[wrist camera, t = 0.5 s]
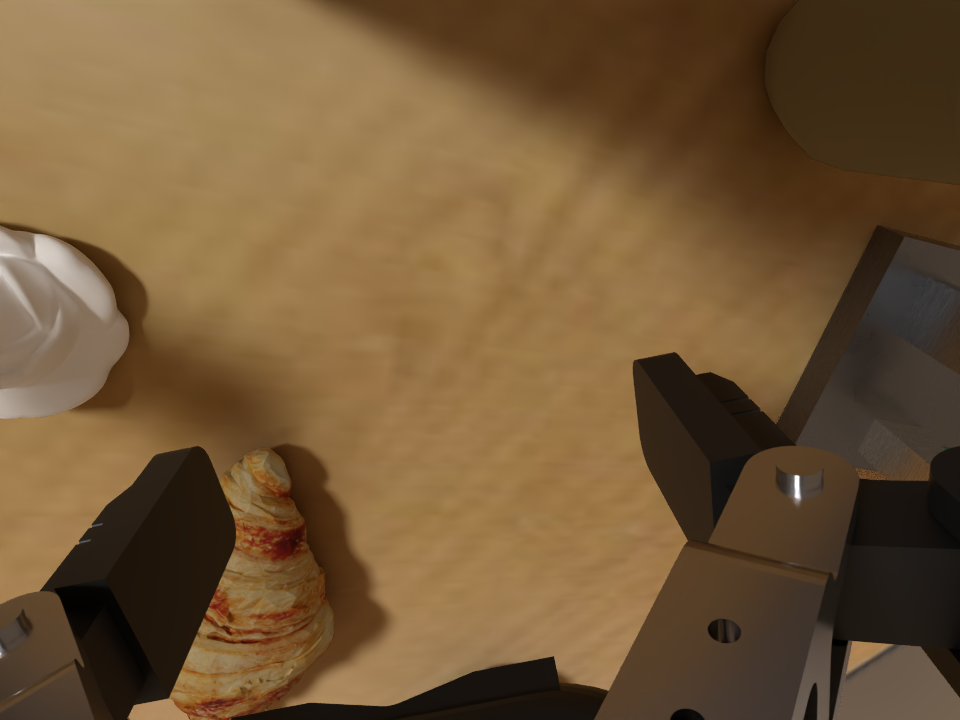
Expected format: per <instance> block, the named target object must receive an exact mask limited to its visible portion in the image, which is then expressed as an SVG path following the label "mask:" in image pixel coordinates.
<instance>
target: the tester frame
mask: <svg viewBox="0 0 960 720" xmlns="http://www.w3.org/2000/svg"><path fill="white" fill-rule="evenodd" d="M777 426H778V427H779V428H780V429H781V430H782V431H783V432H784V433H785V435H786V436H787V437H788V438H789V439H790V440H791V441H792V442H793V443H794V444H795V445H796V446H805V447H812V448H818V449H822V450H825V451H828V452H831V453H834V454H836V455H838V456H840V457H842V458H844V459H845V460H846V461H848V462H849V463H850V464H851V465H852V466H853V467H857V468H862V469H867V470H873V471H878V472H880V473H881V474H882V475H883V476H884V477H885V478H886V479H887V480H901V481H929V472H930V464H931V461H932V459H933V458H934V457H935V456H936V455H937V454H938V453H940V452H942V451H944V450H947V449H949V448H953V447H957V446H960V246H956V245H952V244H948V243H944V242H940V241H936V240H933V239H929V238H925V237H921V236H917V235H913V234H909V233H905V232H901V231H898V230H894V229H890V228H886V227H882V226H877V228H876V230H875V232H874V234H873V236H872V238H871V240H870V242H869V244H868V246H867V248H866V250H865V252H864V254H863V256H862V258H861V260H860V262H859V264H858V266H857V268H856V270H855V272H854V274H853V276H852V278H851V280H850V281H849V283H848V285H847V287H846V289H845V291H844V293H843V295H842V297H841V299H840V301H839V303H838V305H837V307H836V309H835V311H834V313H833V315H832V317H831V319H830V321H829V323H828V325H827V327H826V329H825V331H824V333H823V335H822V337H821V339H820V341H819V343H818V345H817V347H816V349H815V351H814V352H813V354H812V356H811V358H810V360H809V362H808V364H807V366H806V368H805V370H804V372H803V374H802V376H801V378H800V380H799V382H798V384H797V386H796V388H795V390H794V392H793V394H792V396H791V398H790V400H789V402H788V404H787V406H786V408H785V410H784V412H783V414H782V416H781V418H780V420H779V422H778V423H777Z"/></svg>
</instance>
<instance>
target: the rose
mask: <svg viewBox="0 0 960 720" xmlns="http://www.w3.org/2000/svg"><path fill="white" fill-rule="evenodd" d="M129 337H130V334H129V326H128V322H127V320H126V318H125V317H124V316H123V314H122V313H121V312H120V311H119V310H118V308H117V304H116V299H115V294H114V291H113V288H112V286H111V285H110V283H109V282H108V280H107V279H106V278H105V276H104V275H103V274H102V272H101V271H100V270H99V269H98V268H97V266H96V265H95V264H94V263H93V262H92V261H91V260H90V259H89V258H87V257H86V256H85V255H84V254H83V253H82V252H80V251H79V250H78V249H76V248H75V247H73V246H72V245H70V244H68V243H66V242H64V241H62V240H60V239H58V238H55V237H52V236H49V235H44V234H34V233H31V232H26V231H13V230H10V229H7V228H5V227H3V226H0V419H14V418H22V417H35V418H39V417H48V416H53V415H57V414H60V413H63V412H66V411H68V410H71V409H73V408H75V407H77V406H79V405H81V404H83V403H84V402H86V401H88V400H89V399H90V398H92V397H93V396H94V395H95V394H97V393H98V392H99V391H100V389H101V388H102V387H103V386H104V384H105V382H106V380H107V378H108V375H109V372H110V370H111V368H112V367H113V365H114V364H115V363H116V362H117V361H118V360H119V359H120V358H121V356H122V355H123V354H124V352H125V350H126V348H127V346H128V343H129Z"/></svg>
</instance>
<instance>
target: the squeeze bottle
mask: <svg viewBox="0 0 960 720" xmlns="http://www.w3.org/2000/svg"><path fill="white" fill-rule="evenodd" d="M764 82H765V86H766V89H767V92H768V96H769V99H770V103H771V106H772V108H773V109H774V111H775V113H776V114H777V116H778V118H779V119H780V121H781V123H782V124H783V126H784V128H785V129H786V131H787V133H788V134H789V135H790V136H791V137H792V138H793V139H794V140H795V141H796V142H797V143H798V145H799V146H800V147H801V148H802V149H803V150H804V151H805V152H806V153H807V154H808V155H809V156H810V158H811V159H814V160H817V161H819V162H822V163H825V164H828V165H831V166H834V167H837V168H840V169H842V170H846V171H854V172H862V173H869V174H877V175H885V176H893V177H901V178H909V179H917V180H925V181H933V182H941V183H949V184H957V185H960V0H799V1H798V2H797V3H796V4H795V5H794V6H793V7H792V8H791V10H790V11H789V12H788V13H787V14H786V15H785V16H784V17H783V18H782V20H781V21H780V22H779V24H778V27H777V29H776V31H775V33H774V36H773V38H772V40H771V42H770V44H769V47H768V49H767V53H766V63H765V74H764Z"/></svg>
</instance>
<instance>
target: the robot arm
mask: <svg viewBox="0 0 960 720" xmlns="http://www.w3.org/2000/svg"><path fill="white" fill-rule="evenodd" d="M633 379H634V388H635V397H636V406H637V416H638V425H639V434H640V441H641V446H642V450H643V454H644V457H645V460H646V463H647V466H648V468H649V470H650V472H651V474H652V475H653V477H654V479H655V481H656V483H657V485H658V487H659V488H660V490H661V492H662V494H663V496H664V498H665V499H666V501H667V503H668V505H669V507H670V509H671V510H672V512H673V514H674V516H675V518H676V520H677V521H678V523H679V525H680V527H681V529H682V531H683V532H684V534H685V536H686V538H687V540H688V542H687V543H686V544H685V545H684V547H683V548H682V550H681V552H680V554H679V556H678V558H677V560H676V561H675V563H674V565H673V567H672V569H671V571H670V573H669V575H668V577H667V579H666V581H665V583H664V585H663V587H662V589H661V591H660V593H659V595H658V596H657V598H656V600H655V602H654V604H653V606H652V608H651V610H650V612H649V614H648V616H647V618H646V620H645V622H644V624H643V626H642V628H641V629H640V631H639V633H638V635H637V637H636V639H635V641H634V643H633V645H632V647H631V649H630V651H629V653H628V655H627V657H626V659H625V661H624V663H623V664H622V666H621V668H620V670H619V672H618V674H617V676H616V678H615V680H614V682H613V684H612V686H611V688H610V690H609V691H607V690H604V689H600V688H597V687H592V686H586V685H580V684H570V683H559V679H558V675H557V670H556V665H555V660H554V656H553V657H548V658H543V659H538V660H532V661H527V662H522V663H517V664H511V665H506V666H501V667H496V668H490V669H485V670H480V671H475V672H472V673H470V674H467V675H465V676H462V677H460V678H458V679H455V680H453V681H451V682H448V683H446V684H443V685H441V686H439V687H436V688H434V689H432V690H429V691H427V692H424V693H422V694H420V695H417V696H415V697H413V698H410V699H408V700H405V701H403V702H401V703H398V704H395V705H391V706H364V705H344V704H324V703H306V704H301V705H296V706H290V707H285V708H280V709H275V710H269V711H264V712H259V713H254V714H248V715H243V716H238V717H233V718H231V720H837V719H838V713H839V708H840V703H841V697H842V692H843V687H844V682H845V677H846V671H847V666H848V661H849V656H850V651H851V645H852V641H861V642H873V643H885V644H898V645H910V646H921V647H922V649H923V650H924V651H925V653H926V654H927V656H928V657H929V658H930V659H931V661H932V662H933V663H934V665H935V666H936V667H937V669H938V670H939V671H940V672H941V674H942V675H943V676H944V678H945V679H946V680H947V682H948V683H949V684H950V685H951V687H952V688H953V689H954V691H955V692H956V693H957V694H958V696H959V697H960V446H957V447H953V448H949V449H947V450H944V451H942V452H940V453H938V454H937V455H936V456H935V457H934V458H933V459H932V461H931V464H930V472H929V481H901V480H868V479H860V478H859V476H858V473H857V471H856V469H855V468H854V467H853V466H852V465H851V464H850V463H849V462H848V461H846V460H845V459H844V458H842V457H840V456H838V455H836V454H834V453H831V452H828V451H825V450H822V449H818V448H812V447H805V446H796V445H795V444H794V443H793V442H792V441H791V440H790V439H789V438H788V437H787V436H786V435H785V433H784V432H783V431H782V430H781V429H780V428H779V427H778V426H777V425H776V424H775V423H774V422H773V421H772V420H771V419H770V418H769V417H768V416H767V415H766V414H765V413H764V412H763V411H762V412H760V408H759V407H758V406H757V405H756V404H755V403H754V402H753V401H752V400H751V399H750V400H749V399H748V396H747V395H746V394H745V393H744V392H743V391H742V390H741V389H740V388H739V387H738V386H737V385H736V384H735V383H734V382H732V381H730V380H728V379H725V378H723V377H721V376H718V375H716V374H714V373H711V372H709V373H703V374H698V375H695V373H694V372H693V371H692V370H691V369H690V368H689V367H688V365H687V364H686V363H685V362H684V361H683V360H682V359H681V358H680V356H679V355H678V354H677V353H675V352H673V353H668V354H663V355H658V356H653V357H648V358H643V359H638V360H634V362H633ZM79 543H80V544H78V545H75V547H74V548H73V549H72V550H71V552H70V553H69V554H68V556H67V557H66V558H65V559H64V561H63V562H62V563H61V565H60V566H59V567H58V568H57V570H56V571H55V572H54V574H53V575H52V576H51V577H50V579H49V580H48V581H47V582H46V584H45V585H44V586H43V588H42V589H41V590H40V591H39V592H33V593H28V594H25V595H22V596H18V597H16V598H13V599H11V600H9V601H6V602H4V603H2V604H0V720H130V719H129V717H128V716H129V714H130V712H131V710H132V708H133V706H134V705H137V704H142V703H147V702H152V701H158V700H163V699H168V698H169V697H170V695H171V693H172V690H173V688H174V686H175V683H176V681H177V679H178V676H179V674H180V672H181V670H182V667H183V665H184V663H185V660H186V658H187V656H188V654H189V651H190V649H191V647H192V644H193V642H194V640H195V637H196V635H197V633H198V631H199V628H200V626H201V624H202V621H203V619H204V617H205V614H206V612H207V610H208V608H209V605H210V603H211V601H212V598H213V596H214V594H215V592H216V589H217V587H218V585H219V582H220V580H221V578H222V575H223V573H224V571H225V569H226V566H227V564H228V562H229V559H230V557H231V555H232V552H233V550H234V547H235V543H236V525H235V520H234V516H233V514H232V511H231V509H230V506H229V504H228V501H227V499H226V497H225V494H224V492H223V489H222V487H221V485H220V482H219V480H218V477H217V475H216V472H215V470H214V468H213V465H212V463H211V460H210V458H209V456H208V454H207V453H206V451H205V450H204V449H203V448H201V447H199V446H196V447H191V448H186V449H181V450H176V451H171V452H166V453H161V454H157V455H155V456H154V457H153V458H152V460H151V461H150V462H149V463H148V465H147V466H146V467H145V469H144V470H143V471H142V473H141V474H140V475H139V477H138V478H137V479H136V481H135V482H134V483H133V485H132V486H130V487H129V488H128V489H127V490H125V491H124V492H123V493H122V494H120V495H119V496H118V497H116V498H115V499H114V500H113V501H111V502H110V503H109V504H108V505H107V506H106V507H105V508H104V509H103V511H102V512H101V513H100V515H99V516H98V517H97V518H96V520H95V521H94V522H93V524H92V528H89V529H88V530H87V531H86V533H85V534H84V535H83V536H82V538H81V539H80V540H79Z"/></svg>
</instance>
